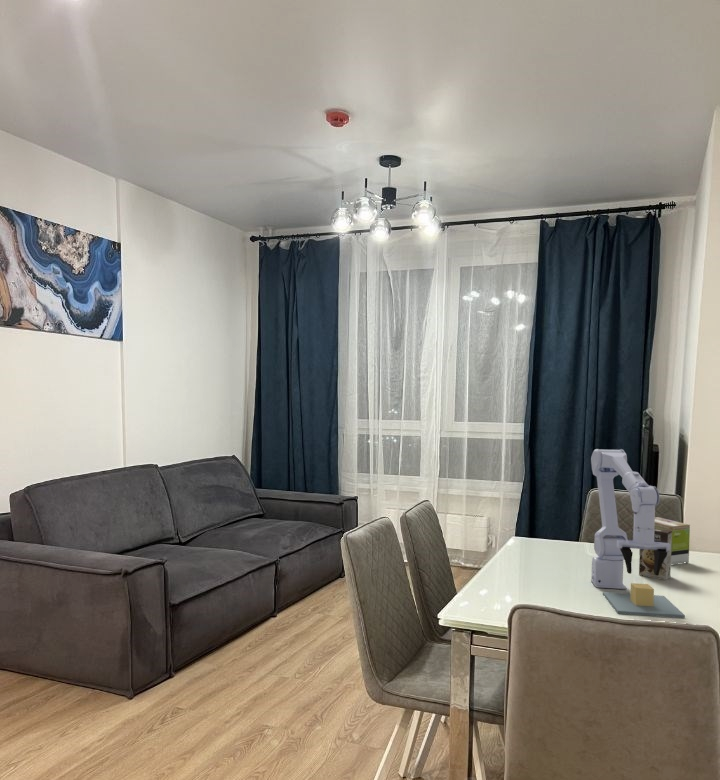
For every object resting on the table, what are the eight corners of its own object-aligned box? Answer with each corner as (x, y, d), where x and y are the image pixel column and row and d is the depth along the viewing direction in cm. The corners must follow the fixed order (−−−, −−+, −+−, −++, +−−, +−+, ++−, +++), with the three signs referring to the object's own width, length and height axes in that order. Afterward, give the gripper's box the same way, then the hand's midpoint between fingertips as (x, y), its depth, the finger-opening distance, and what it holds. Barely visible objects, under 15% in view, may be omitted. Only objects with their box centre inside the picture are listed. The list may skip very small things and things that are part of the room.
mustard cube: (635, 605, 194) (635, 587, 194) (630, 599, 199) (630, 583, 199) (653, 606, 193) (653, 589, 193) (647, 600, 198) (648, 584, 198)
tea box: (638, 556, 258) (639, 517, 258) (656, 553, 262) (657, 516, 262) (670, 565, 244) (671, 525, 244) (689, 563, 248) (690, 523, 248)
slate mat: (617, 613, 188) (617, 610, 188) (602, 594, 206) (602, 591, 206) (684, 618, 186) (684, 615, 186) (663, 598, 204) (663, 595, 204)
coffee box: (638, 575, 229) (639, 528, 229) (643, 571, 234) (644, 525, 234) (666, 580, 224) (667, 532, 224) (671, 576, 229) (672, 529, 229)
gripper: (621, 528, 193) (620, 575, 193) (674, 531, 191) (673, 578, 191) (615, 524, 200) (614, 569, 200) (666, 526, 198) (665, 572, 198)
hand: (642, 573), depth 196 cm, fingers open, 7 cm apart
